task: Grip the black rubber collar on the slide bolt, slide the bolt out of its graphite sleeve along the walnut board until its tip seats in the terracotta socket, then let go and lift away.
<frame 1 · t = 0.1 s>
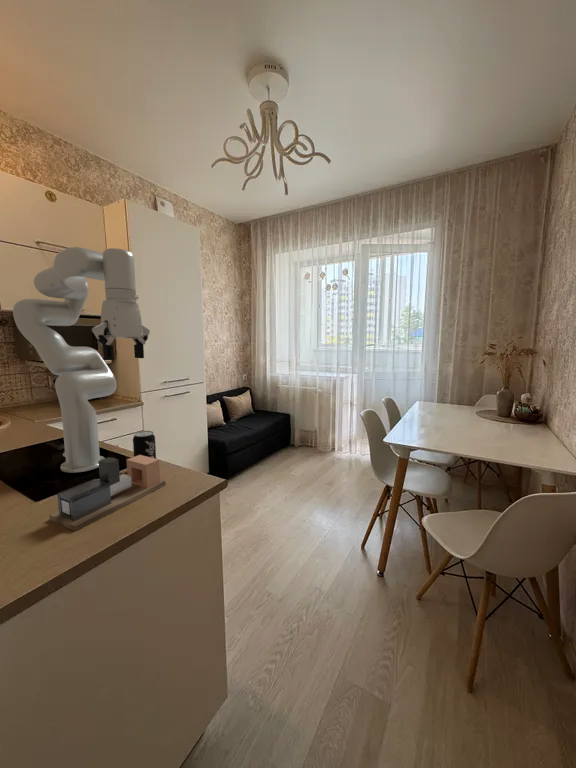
hand: (125, 358, 91), 37 cm above the countertop, tool pointing down, fingers open, 9 cm apart
base board: (114, 500, 84), on the countertop
socket block: (144, 485, 93), resting on base board
slide bolt: (98, 481, 80), point 7 cm above the countertop, slide at 0.0 cm
sleeve: (86, 513, 78), resting on base board
beverage can: (145, 469, 105), on the countertop
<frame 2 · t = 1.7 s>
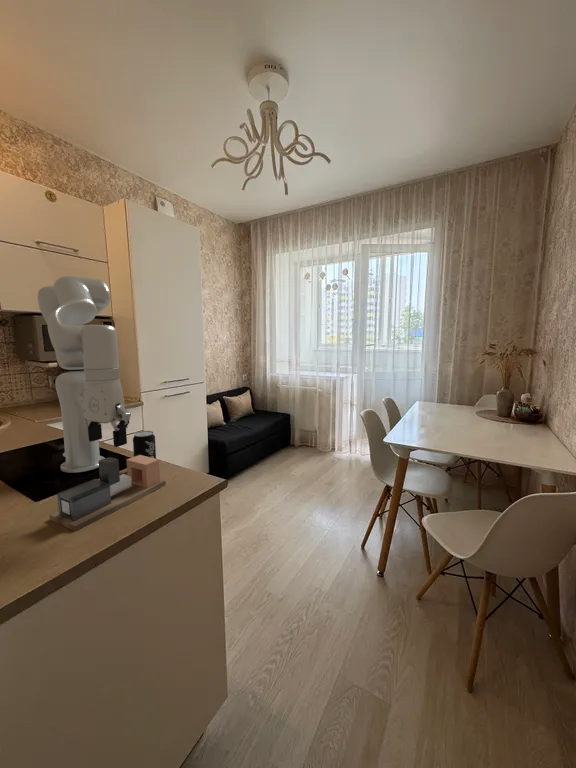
hand: (107, 442, 81), 16 cm above the countertop, tool pointing down, fingers open, 9 cm apart
nothing on the countertop moved.
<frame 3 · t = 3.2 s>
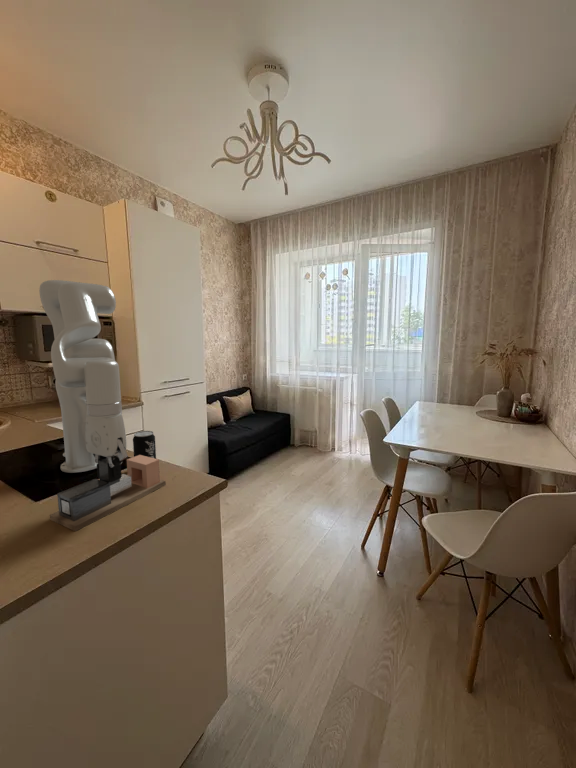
hand: (109, 477, 83), 7 cm above the countertop, tool pointing down, fingers closed on slide bolt, 3 cm apart
slide bolt: (98, 481, 80), point 7 cm above the countertop, slide at 0.0 cm, touching gripper
everything else where it was.
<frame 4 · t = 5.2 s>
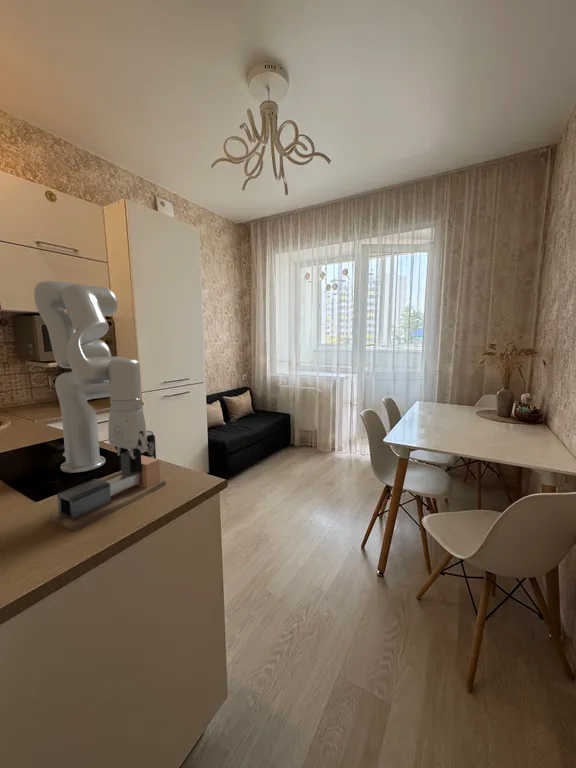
hand: (130, 469, 88), 7 cm above the countertop, tool pointing down, fingers closed on slide bolt, 3 cm apart
slide bolt: (120, 472, 85), point 7 cm above the countertop, slide at 6.1 cm, touching gripper
everything else where it was.
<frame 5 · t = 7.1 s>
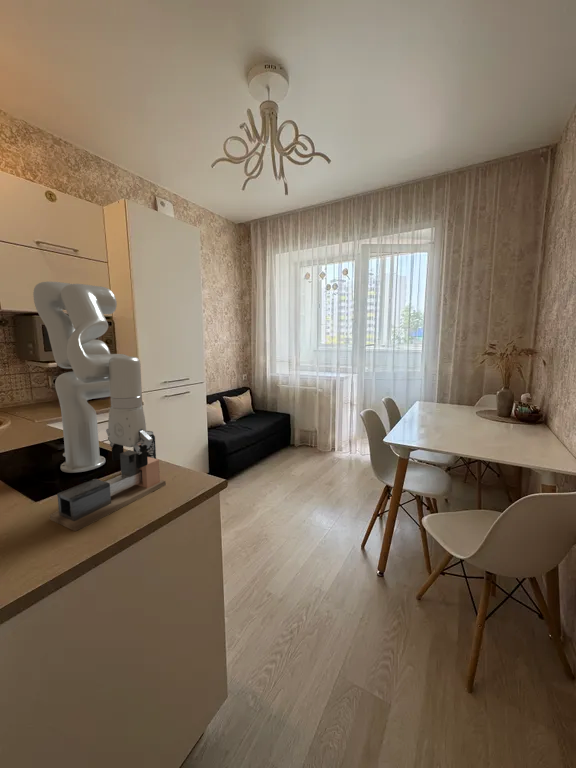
hand: (129, 462, 88), 8 cm above the countertop, tool pointing down, fingers open, 9 cm apart
slide bolt: (120, 472, 85), point 7 cm above the countertop, slide at 6.0 cm
everything else where it was.
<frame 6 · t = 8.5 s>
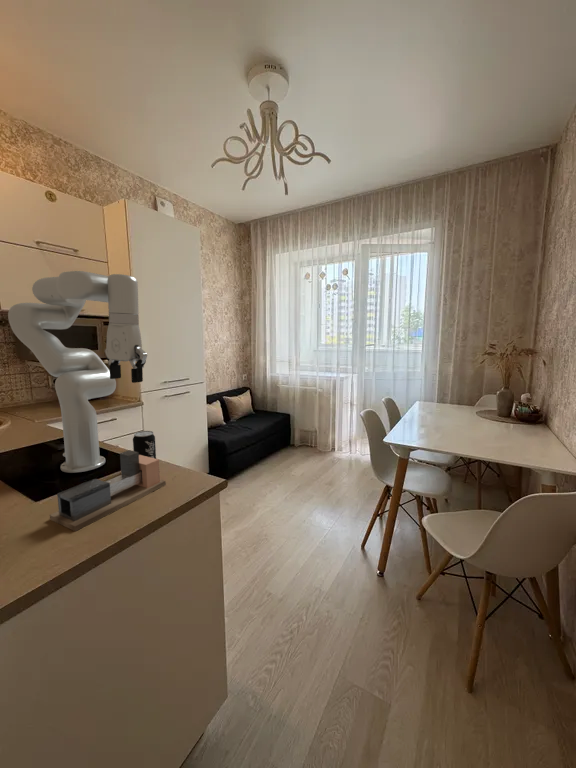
hand: (126, 380, 93), 30 cm above the countertop, tool pointing down, fingers open, 9 cm apart
nothing on the countertop moved.
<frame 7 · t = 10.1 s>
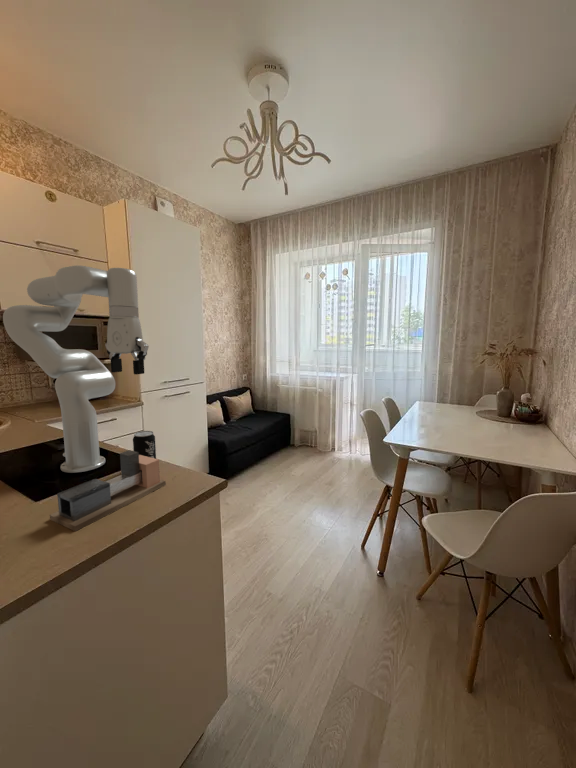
hand: (127, 373, 94), 32 cm above the countertop, tool pointing down, fingers open, 9 cm apart
nothing on the countertop moved.
at the end: slide bolt slide at 6.0 cm; the gripper is holding nothing; beverage can moved 0.2 cm from its start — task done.
